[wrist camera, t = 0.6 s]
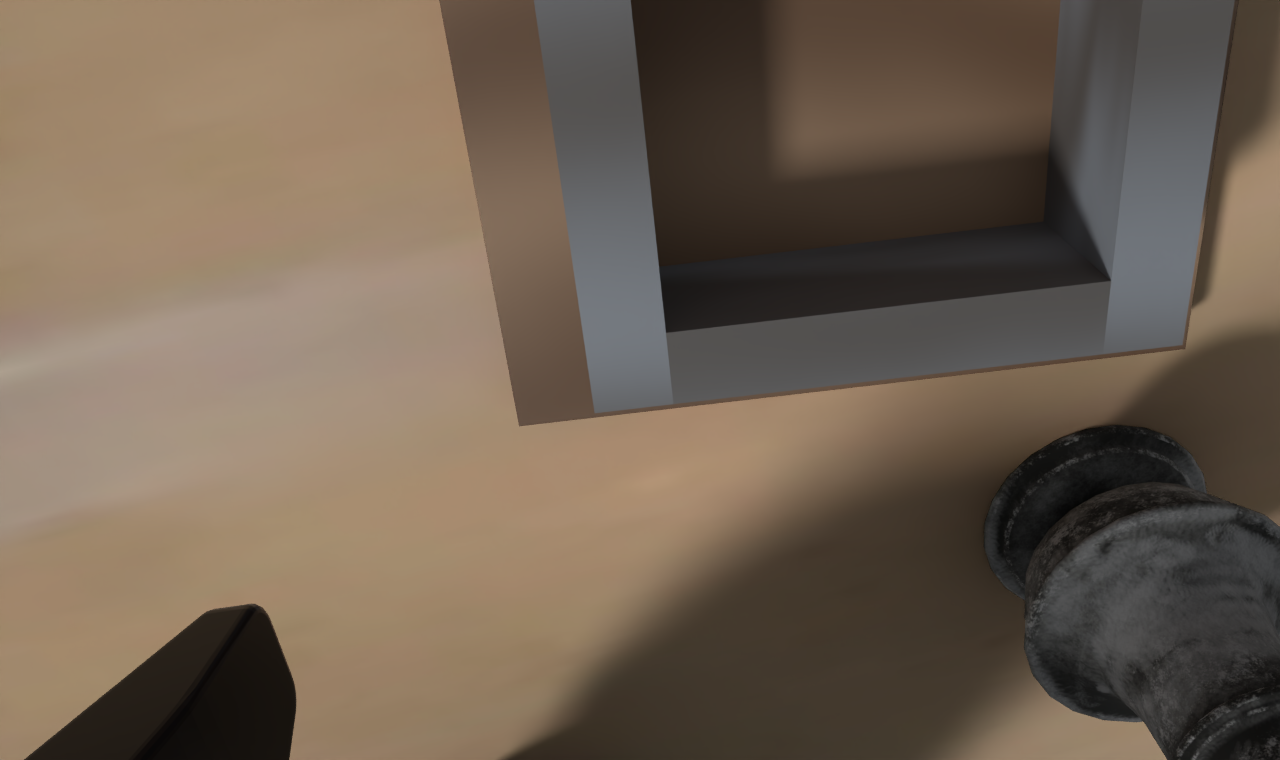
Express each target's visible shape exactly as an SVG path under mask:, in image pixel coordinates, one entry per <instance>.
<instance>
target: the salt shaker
mask: <svg viewBox="0 0 1280 760" xmlns="http://www.w3.org/2000/svg"><path fill="white" fill-rule="evenodd" d="M984 548H985V551H986V554H987V557H988V561H989V564H990V567H991V569H992V571H993V572H994V573H995V575H996V576H997V577H998V578H999V580H1000V581H1001V582H1002V584H1003V585H1004V586H1005V587H1006V588H1007V589H1008V590H1010V591H1011V592H1013V593H1014V594H1016V595H1017V596H1019V597H1020V598H1022V599H1023V600H1025V613H1024V618H1025V638H1024V650H1025V653H1026V656H1027V659H1028V662H1029V665H1030V668H1031V672H1032V674H1033V676H1034V677H1035V678H1036V680H1037V681H1038V682H1039V683H1040V685H1041V686H1042V687H1043V688H1044V690H1045V691H1046V692H1047V693H1048V695H1049V696H1050V697H1052V698H1053V699H1055V700H1057V701H1058V702H1060V703H1061V704H1063V705H1064V706H1066V707H1068V708H1069V709H1071V710H1072V711H1075V712H1078V713H1082V714H1085V715H1088V716H1092V717H1095V718H1098V719H1102V720H1110V721H1126V722H1142V721H1143V722H1144V723H1145V724H1146V726H1147V727H1148V729H1149V731H1150V732H1151V734H1152V736H1153V737H1154V739H1155V740H1156V742H1157V744H1158V745H1159V747H1160V748H1161V750H1162V752H1163V753H1164V755H1165V757H1166V758H1167V760H1280V527H1279V526H1278V525H1277V524H1276V523H1274V522H1273V521H1272V520H1270V519H1269V518H1268V517H1267V516H1265V515H1264V514H1261V513H1259V512H1256V511H1253V510H1250V509H1248V508H1245V507H1242V506H1239V505H1237V504H1234V503H1230V502H1228V501H1225V500H1223V499H1220V498H1217V497H1214V496H1212V495H1209V494H1207V491H1206V486H1205V481H1204V475H1203V473H1202V471H1201V470H1200V468H1199V466H1198V465H1197V463H1196V462H1195V460H1194V458H1193V457H1192V455H1191V454H1190V453H1189V452H1188V451H1187V450H1186V449H1184V448H1183V447H1182V446H1180V445H1179V444H1178V443H1177V442H1175V441H1174V440H1173V439H1172V438H1170V437H1168V436H1166V435H1163V434H1160V433H1158V432H1155V431H1152V430H1150V429H1147V428H1142V427H1131V426H1121V425H1114V426H1107V427H1099V428H1092V429H1086V430H1083V431H1080V432H1077V433H1075V434H1072V435H1069V436H1066V437H1063V438H1061V439H1058V440H1056V441H1054V442H1052V443H1051V444H1049V445H1047V446H1046V447H1044V448H1043V449H1041V450H1039V451H1038V452H1036V453H1034V454H1033V455H1031V456H1030V457H1029V458H1027V459H1026V460H1025V461H1024V462H1023V463H1022V464H1021V465H1020V466H1019V467H1018V468H1017V469H1016V470H1015V471H1014V472H1013V473H1011V474H1010V475H1009V476H1008V478H1007V479H1006V481H1005V482H1004V484H1003V485H1002V487H1001V488H1000V490H999V491H998V493H997V494H996V496H995V497H994V499H993V500H992V503H991V506H990V509H989V512H988V515H987V518H986V521H985V528H984Z"/></svg>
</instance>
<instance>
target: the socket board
mask: <svg viewBox="0 0 1280 760" xmlns="http://www.w3.org/2000/svg"><path fill="white" fill-rule="evenodd" d="M439 1H440V6H441V12H442V17H443V22H444V28H445V33H446V38H447V44H448V49H449V54H450V60H451V65H452V70H453V76H454V81H455V86H456V92H457V97H458V102H459V108H460V113H461V118H462V124H463V129H464V134H465V140H466V145H467V150H468V156H469V161H470V166H471V172H472V177H473V182H474V188H475V193H476V198H477V204H478V209H479V214H480V220H481V225H482V230H483V236H484V241H485V246H486V252H487V257H488V262H489V268H490V273H491V278H492V284H493V289H494V294H495V300H496V305H497V310H498V316H499V321H500V326H501V332H502V337H503V342H504V348H505V353H506V358H507V364H508V369H509V374H510V380H511V385H512V390H513V396H514V401H515V406H516V412H517V417H518V422H519V426H525V425H534V424H542V423H551V422H560V421H568V420H577V419H585V418H594V417H603V416H611V415H620V414H629V413H637V412H646V411H654V410H663V409H672V408H680V407H689V406H697V405H706V404H715V403H723V402H732V401H740V400H749V399H758V398H766V397H775V396H783V395H792V394H801V393H809V392H818V391H827V390H835V389H844V388H852V387H861V386H870V385H878V384H887V383H895V382H904V381H913V380H921V379H930V378H938V377H947V376H956V375H964V374H973V373H982V372H990V371H999V370H1007V369H1016V368H1025V367H1033V366H1042V365H1050V364H1059V363H1068V362H1076V361H1085V360H1093V359H1102V358H1111V357H1119V356H1128V355H1137V354H1145V353H1154V352H1162V351H1171V350H1180V349H1185V347H1186V340H1187V333H1188V327H1189V320H1190V314H1191V307H1192V301H1193V294H1194V288H1195V281H1196V275H1197V268H1198V262H1199V255H1200V249H1201V242H1202V236H1203V229H1204V223H1205V216H1206V209H1207V203H1208V196H1209V190H1210V183H1211V177H1212V170H1213V164H1214V157H1215V151H1216V144H1217V138H1218V131H1219V125H1220V118H1221V112H1222V105H1223V98H1224V92H1225V85H1226V79H1227V72H1228V66H1229V59H1230V53H1231V46H1232V40H1233V33H1234V27H1235V20H1236V14H1237V7H1238V1H1239V0H439Z"/></svg>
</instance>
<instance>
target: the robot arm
mask: <svg viewBox="0 0 1280 760" xmlns="http://www.w3.org/2000/svg"><path fill="white" fill-rule="evenodd" d="M295 714H296V690H295V685H294V681H293V678H292V675H291V672H290V670H289V667H288V664H287V662H286V659H285V657H284V654H283V651H282V649H281V646H280V643H279V641H278V638H277V636H276V633H275V630H274V628H273V625H272V623H271V620H270V618H269V616H268V614H267V613H266V611H265V610H264V609H263V608H262V607H260V606H258V605H256V604H246V605H240V606H233V607H226V608H219V609H213V610H210V611H207V612H206V613H204V614H203V615H201V616H200V617H199V618H198V619H196V620H195V621H194V622H193V623H192V624H190V625H189V626H188V627H187V628H185V629H184V630H183V631H182V632H180V633H179V634H178V635H177V636H176V637H174V638H173V639H172V640H171V641H169V642H168V643H167V644H166V645H165V646H163V647H162V648H161V649H160V650H158V651H157V652H156V653H155V654H153V655H152V656H151V657H150V658H149V659H147V660H146V661H145V662H144V663H142V664H141V665H140V666H139V667H137V668H136V669H135V670H134V671H133V672H131V673H130V674H129V675H128V676H126V677H125V678H124V679H123V680H121V681H120V682H119V683H118V684H117V685H115V686H114V687H113V688H112V689H110V690H109V691H108V692H107V693H105V694H104V695H103V696H102V697H101V698H99V699H98V700H97V701H96V702H94V703H93V704H92V705H91V706H89V707H88V708H87V709H86V710H85V711H83V712H82V713H81V714H80V715H78V716H77V717H76V718H75V719H73V720H72V721H71V722H70V723H69V724H67V725H66V726H65V727H64V728H62V729H61V730H60V731H59V732H57V733H56V734H55V735H54V736H53V737H51V738H50V739H49V740H48V741H46V742H45V743H44V744H43V745H41V746H40V747H39V748H38V749H37V750H35V751H34V752H33V753H32V754H30V755H29V756H28V757H27V758H26V759H24V760H289V757H290V750H291V743H292V736H293V728H294V721H295Z"/></svg>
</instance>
